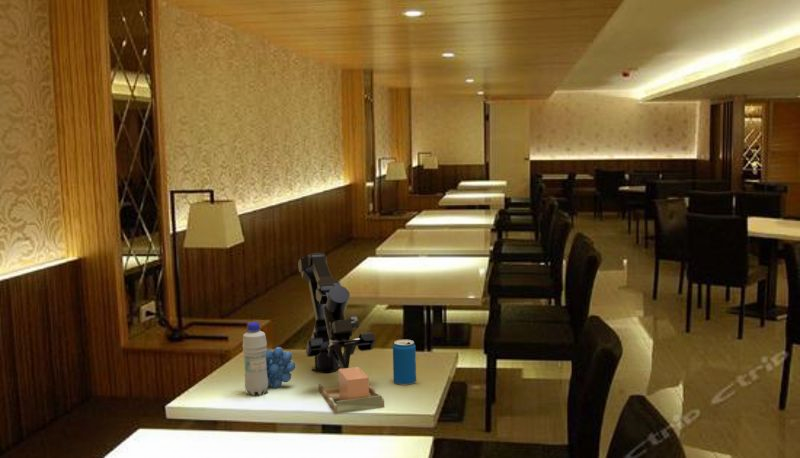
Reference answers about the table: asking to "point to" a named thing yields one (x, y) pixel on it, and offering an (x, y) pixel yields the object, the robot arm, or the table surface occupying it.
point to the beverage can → (404, 362)
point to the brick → (353, 383)
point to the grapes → (278, 366)
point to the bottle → (255, 359)
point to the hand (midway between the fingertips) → (346, 371)
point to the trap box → (351, 400)
